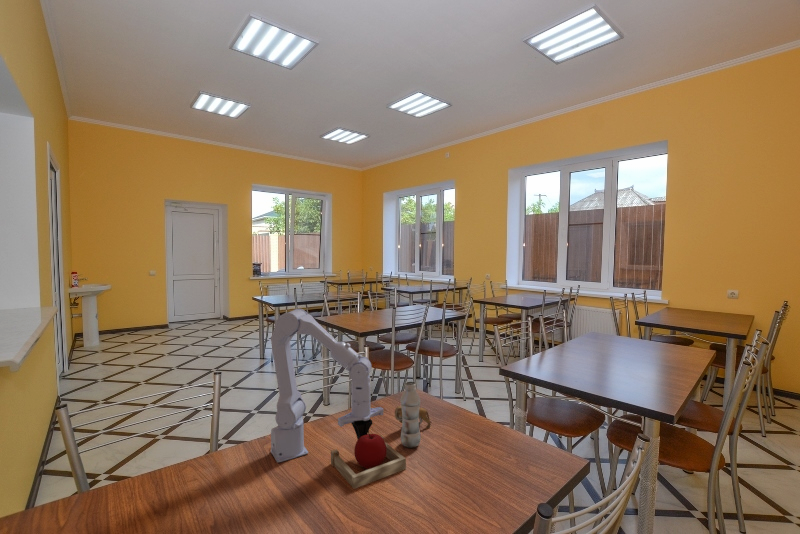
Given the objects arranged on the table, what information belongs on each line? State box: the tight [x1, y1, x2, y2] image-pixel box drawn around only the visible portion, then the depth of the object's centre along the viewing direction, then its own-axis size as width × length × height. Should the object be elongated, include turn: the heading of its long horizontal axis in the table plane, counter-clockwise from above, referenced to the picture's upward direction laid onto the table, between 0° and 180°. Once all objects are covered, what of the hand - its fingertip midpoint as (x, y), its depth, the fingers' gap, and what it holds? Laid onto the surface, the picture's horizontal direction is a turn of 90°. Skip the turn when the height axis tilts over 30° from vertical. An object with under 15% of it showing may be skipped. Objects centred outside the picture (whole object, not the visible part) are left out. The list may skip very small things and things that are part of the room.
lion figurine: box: [394, 405, 432, 430], centre depth 132 cm, size 15×5×9 cm, turn 119°
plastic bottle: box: [400, 380, 422, 448], centre depth 120 cm, size 6×7×20 cm
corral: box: [330, 434, 407, 490], centre depth 109 cm, size 17×14×4 cm
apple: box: [353, 429, 387, 470], centre depth 109 cm, size 9×9×10 cm
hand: (361, 443), depth 114 cm, fingers closed
